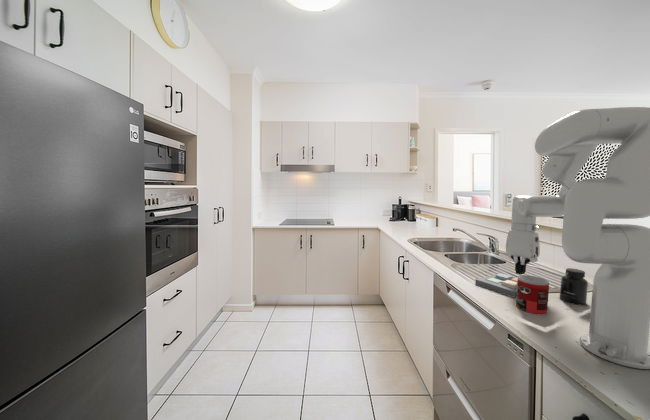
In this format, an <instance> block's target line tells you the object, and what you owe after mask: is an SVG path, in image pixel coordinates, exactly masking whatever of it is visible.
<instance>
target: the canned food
mask: <svg viewBox="0 0 650 420" xmlns="http://www.w3.org/2000/svg"><path fill="white" fill-rule="evenodd" d="M517 278H518V281H517V297H516V300H515V303H516V304H515V306H516V307H517V308H516V309H519V310H521V311H523V312H525V313H529V314H531V315H532V314H534V315H541V316H542V315H546V314H548V306H549V305H548V302H549V290H550V281H549V280H548V279H545V278H542V277H538V276H535V275H526V274H525V275H524V274H521V275H518V277H517Z"/></svg>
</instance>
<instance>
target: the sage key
mask: <svg viewBox="0 0 650 420" xmlns="http://www.w3.org/2000/svg"><path fill="white" fill-rule="evenodd" d="M486 280H488V281H491V282H494V283H497V284H498V283H502V280H499V279H495V278H490V279H486Z"/></svg>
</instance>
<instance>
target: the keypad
mask: <svg viewBox="0 0 650 420" xmlns="http://www.w3.org/2000/svg"><path fill="white" fill-rule="evenodd" d="M497 274H498V273H497ZM497 274H493V275H488V276H483V277H480V278H476V279H475V285H477V286H481V287H483V288H486V289H489V290H492V291H495V292H497V293H500V294H504V295H506V296H510V297H512V298H517V288H515V289H513V288H510V287H507V286H504V285H502V283H498V284H497V283H494V282H491V281H488V280H486V279H490V278H495V276H496V275H497ZM499 274H501V272H500V273H499ZM514 278H516V277H514V276H513V279H514ZM495 279H497V278H495ZM499 280H501V279H499ZM502 281H504V280H502Z"/></svg>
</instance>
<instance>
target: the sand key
mask: <svg viewBox="0 0 650 420" xmlns="http://www.w3.org/2000/svg"><path fill="white" fill-rule="evenodd" d="M502 285H504V286H507V287H510V288H513V289H515V288H517V282H514V281H511V280H506V281H502Z"/></svg>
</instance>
